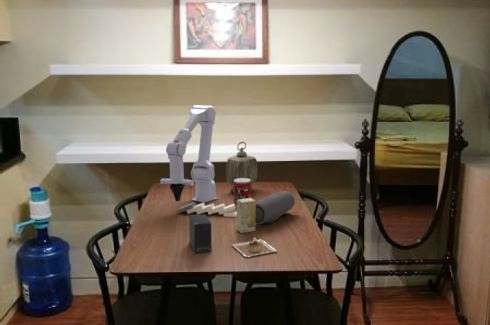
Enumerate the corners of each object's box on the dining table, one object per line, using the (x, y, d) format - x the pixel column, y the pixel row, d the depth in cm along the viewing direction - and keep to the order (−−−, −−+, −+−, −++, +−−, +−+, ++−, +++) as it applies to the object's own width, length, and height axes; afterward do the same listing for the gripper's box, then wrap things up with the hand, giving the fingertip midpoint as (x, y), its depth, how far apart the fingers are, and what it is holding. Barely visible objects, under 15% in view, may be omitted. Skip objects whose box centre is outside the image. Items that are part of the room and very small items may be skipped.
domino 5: (218, 211, 203) (233, 205, 202) (219, 208, 207) (234, 203, 207) (219, 214, 203) (235, 209, 203) (220, 212, 207) (235, 206, 207)
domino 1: (177, 209, 206) (191, 204, 204) (180, 206, 210) (194, 201, 209) (178, 213, 206) (192, 208, 205) (182, 210, 211) (196, 205, 209)
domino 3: (196, 211, 204) (210, 206, 203) (199, 208, 209) (213, 203, 207) (197, 214, 205) (212, 209, 203) (200, 211, 209) (214, 206, 207)
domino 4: (207, 211, 203) (222, 205, 202) (209, 208, 208) (223, 203, 207) (208, 214, 203) (223, 209, 202) (210, 212, 208) (225, 206, 207)
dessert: (245, 260, 159) (245, 246, 158) (231, 247, 170) (231, 234, 169) (277, 253, 164) (277, 240, 163) (261, 242, 174) (261, 229, 174)
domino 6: (223, 213, 202) (239, 215, 200) (226, 210, 206) (242, 211, 204) (223, 217, 202) (239, 218, 201) (226, 214, 206) (242, 215, 205)
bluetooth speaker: (277, 210, 210) (277, 188, 207) (295, 214, 204) (296, 191, 202) (247, 224, 191) (246, 200, 189) (266, 229, 186) (266, 204, 184)
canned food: (231, 204, 218) (231, 181, 216) (238, 200, 225) (237, 177, 223) (247, 206, 215) (246, 182, 213) (253, 201, 222) (253, 178, 220)
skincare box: (241, 233, 182) (241, 202, 179) (236, 230, 185) (235, 199, 183) (256, 230, 184) (256, 200, 182) (250, 227, 188) (250, 197, 186)
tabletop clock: (243, 186, 249) (243, 139, 244) (258, 189, 244) (258, 140, 238) (226, 193, 237) (225, 143, 232) (241, 196, 232) (241, 144, 227)
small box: (213, 251, 165) (212, 222, 162) (194, 254, 163) (193, 224, 161) (206, 240, 175) (205, 213, 172) (188, 242, 173) (187, 215, 171)
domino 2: (186, 210, 205) (200, 205, 204) (189, 207, 210) (203, 202, 208) (187, 213, 206) (202, 208, 204) (191, 210, 210) (205, 205, 208)
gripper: (157, 171, 203) (158, 202, 206) (189, 172, 199) (190, 204, 202) (163, 167, 210) (165, 197, 212) (195, 169, 206) (196, 199, 209)
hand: (177, 200), depth 208 cm, fingers closed
